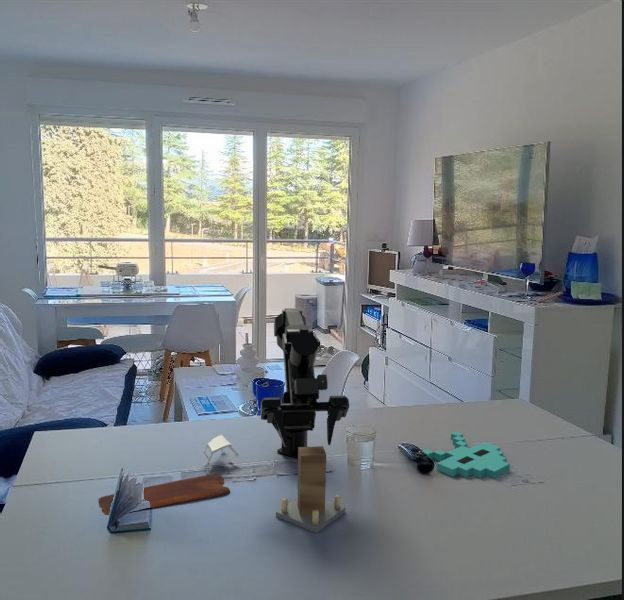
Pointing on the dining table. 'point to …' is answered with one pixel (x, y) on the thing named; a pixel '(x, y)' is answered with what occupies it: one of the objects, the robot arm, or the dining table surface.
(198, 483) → the wooden tablet
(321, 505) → the walnut shelf block
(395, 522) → the dining table surface
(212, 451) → the white gabled frame
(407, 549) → the dining table surface
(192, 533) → the dining table surface
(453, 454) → the alien figure
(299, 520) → the peg plate
